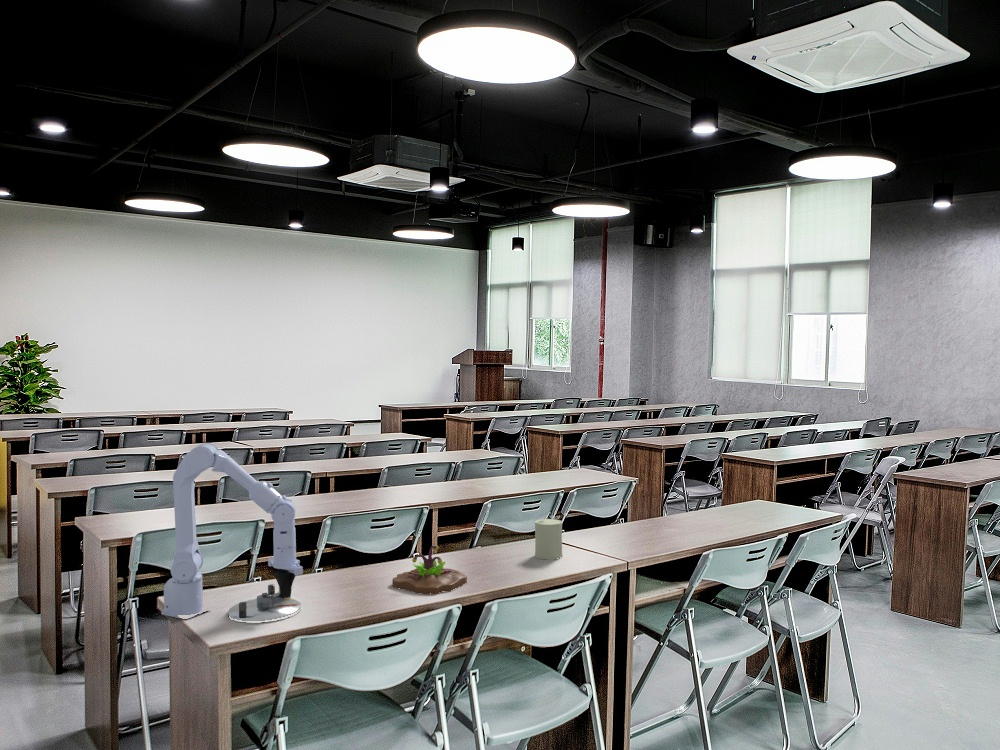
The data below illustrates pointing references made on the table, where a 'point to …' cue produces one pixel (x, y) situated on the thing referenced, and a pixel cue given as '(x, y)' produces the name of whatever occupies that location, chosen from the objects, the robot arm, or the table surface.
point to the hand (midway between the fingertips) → (285, 597)
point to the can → (548, 539)
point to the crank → (270, 600)
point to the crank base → (252, 613)
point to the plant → (429, 576)
